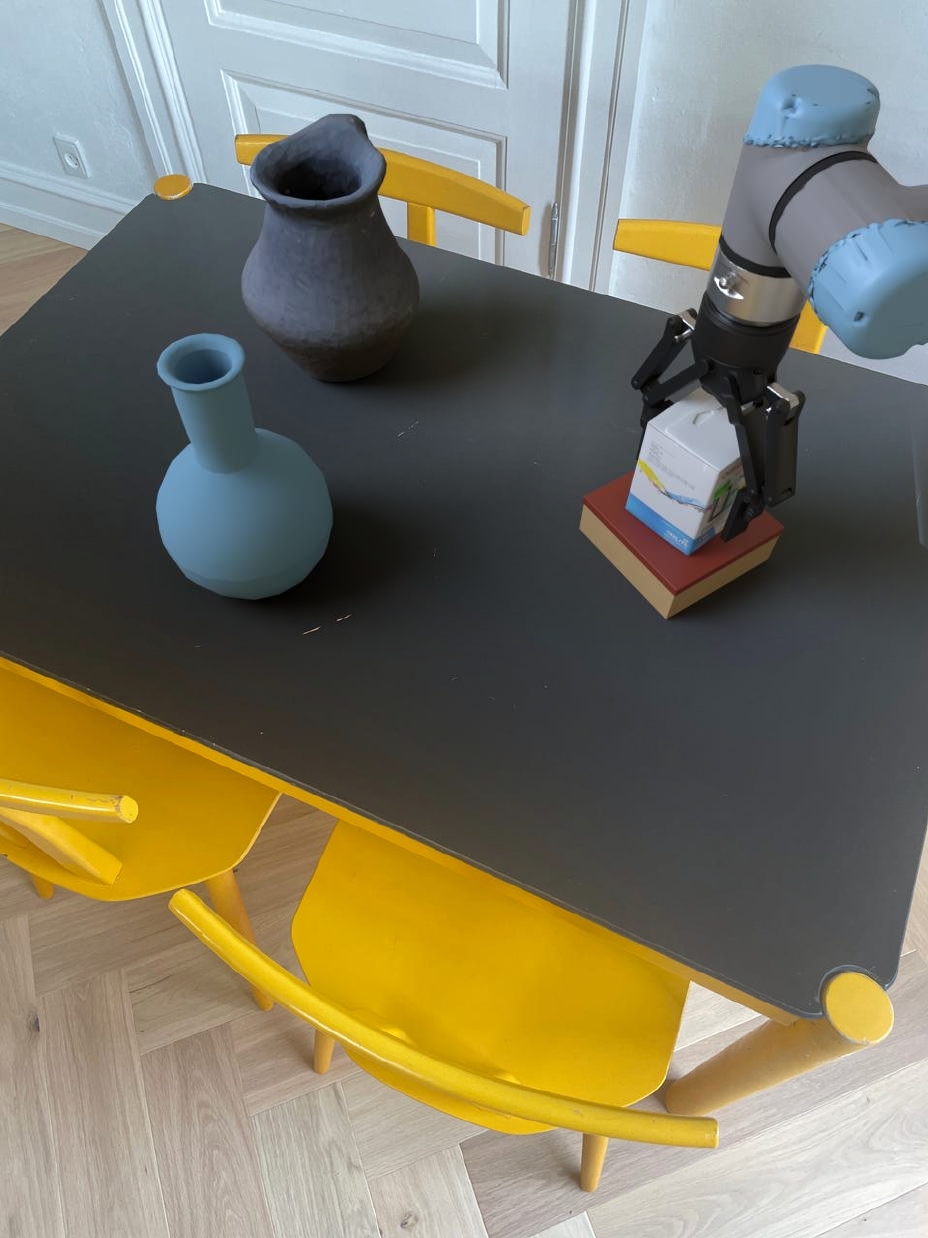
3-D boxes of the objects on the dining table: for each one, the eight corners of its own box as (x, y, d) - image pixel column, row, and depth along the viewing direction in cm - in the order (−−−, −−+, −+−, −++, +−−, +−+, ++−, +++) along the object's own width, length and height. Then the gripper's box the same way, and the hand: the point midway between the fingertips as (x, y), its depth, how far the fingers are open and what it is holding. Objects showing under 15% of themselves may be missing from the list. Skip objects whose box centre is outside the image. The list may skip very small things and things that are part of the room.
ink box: (688, 558, 82) (718, 473, 73) (622, 508, 86) (644, 420, 76) (743, 515, 86) (780, 427, 76) (678, 468, 89) (706, 378, 80)
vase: (364, 518, 92) (337, 318, 71) (301, 641, 83) (250, 454, 62) (223, 482, 94) (159, 280, 74) (148, 598, 85) (51, 405, 65)
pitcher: (232, 395, 102) (176, 191, 82) (294, 288, 114) (259, 86, 94) (397, 424, 100) (383, 221, 79) (444, 311, 112) (441, 109, 91)
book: (769, 559, 89) (785, 527, 85) (665, 621, 84) (676, 590, 80) (678, 475, 96) (688, 442, 91) (577, 528, 91) (583, 496, 87)
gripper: (616, 239, 70) (583, 436, 88) (836, 406, 59) (747, 593, 77) (685, 211, 72) (639, 409, 90) (909, 367, 61) (806, 557, 79)
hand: (689, 494), depth 84 cm, fingers open, 11 cm apart
